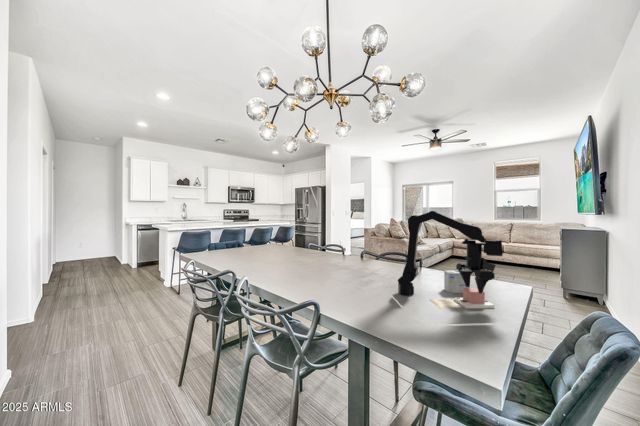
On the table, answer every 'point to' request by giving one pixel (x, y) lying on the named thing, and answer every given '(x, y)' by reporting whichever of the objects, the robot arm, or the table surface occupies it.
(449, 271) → the light bulb box
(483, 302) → the pink block
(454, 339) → the table surface
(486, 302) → the panel
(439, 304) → the pad
